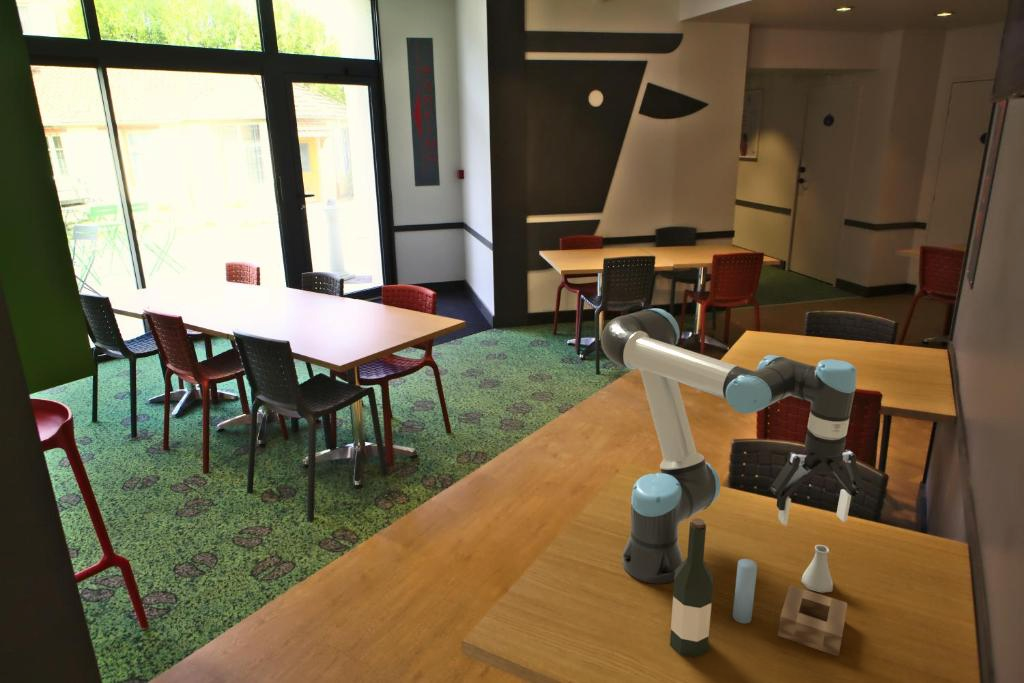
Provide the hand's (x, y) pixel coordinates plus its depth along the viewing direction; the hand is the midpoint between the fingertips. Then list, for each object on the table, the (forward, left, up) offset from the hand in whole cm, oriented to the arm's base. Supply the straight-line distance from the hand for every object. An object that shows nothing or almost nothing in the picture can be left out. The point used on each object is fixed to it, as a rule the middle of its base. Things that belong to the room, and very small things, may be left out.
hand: (811, 520), depth 142 cm
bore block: (+3, -6, -23) cm, 24 cm away
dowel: (-11, -10, -23) cm, 27 cm away
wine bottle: (-19, -24, -23) cm, 38 cm away
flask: (+2, +11, -23) cm, 26 cm away
